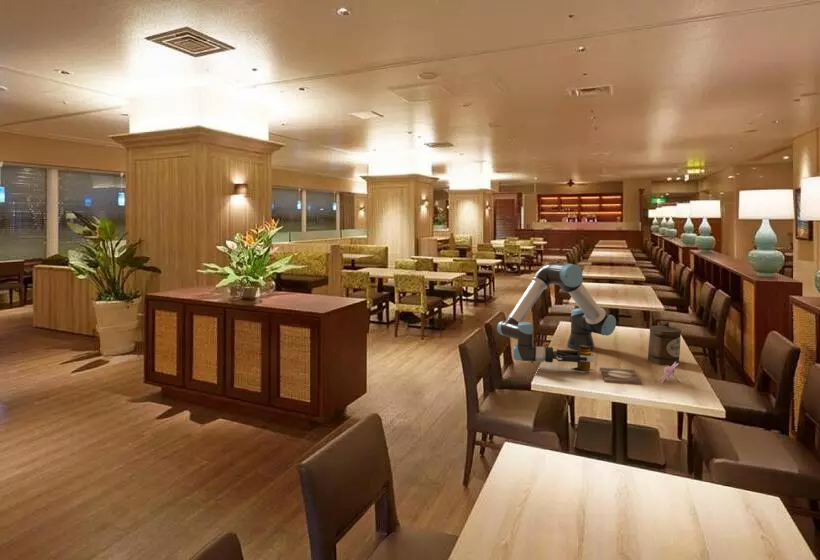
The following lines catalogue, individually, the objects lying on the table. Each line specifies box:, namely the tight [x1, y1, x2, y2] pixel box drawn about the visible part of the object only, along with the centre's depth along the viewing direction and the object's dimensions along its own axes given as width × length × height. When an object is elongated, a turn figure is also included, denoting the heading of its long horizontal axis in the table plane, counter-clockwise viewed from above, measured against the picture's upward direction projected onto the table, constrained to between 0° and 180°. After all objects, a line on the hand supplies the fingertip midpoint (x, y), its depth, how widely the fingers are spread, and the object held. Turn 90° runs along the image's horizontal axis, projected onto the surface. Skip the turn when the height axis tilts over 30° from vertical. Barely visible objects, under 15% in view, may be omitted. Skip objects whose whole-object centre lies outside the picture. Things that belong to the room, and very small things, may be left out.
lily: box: [660, 362, 680, 384], centre depth 241 cm, size 12×12×10 cm
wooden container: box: [647, 320, 682, 367], centre depth 273 cm, size 15×15×22 cm
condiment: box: [570, 345, 594, 374], centre depth 256 cm, size 7×8×12 cm
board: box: [599, 366, 643, 386], centre depth 249 cm, size 20×16×1 cm
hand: (593, 357), depth 255 cm, fingers closed on condiment, 6 cm apart
